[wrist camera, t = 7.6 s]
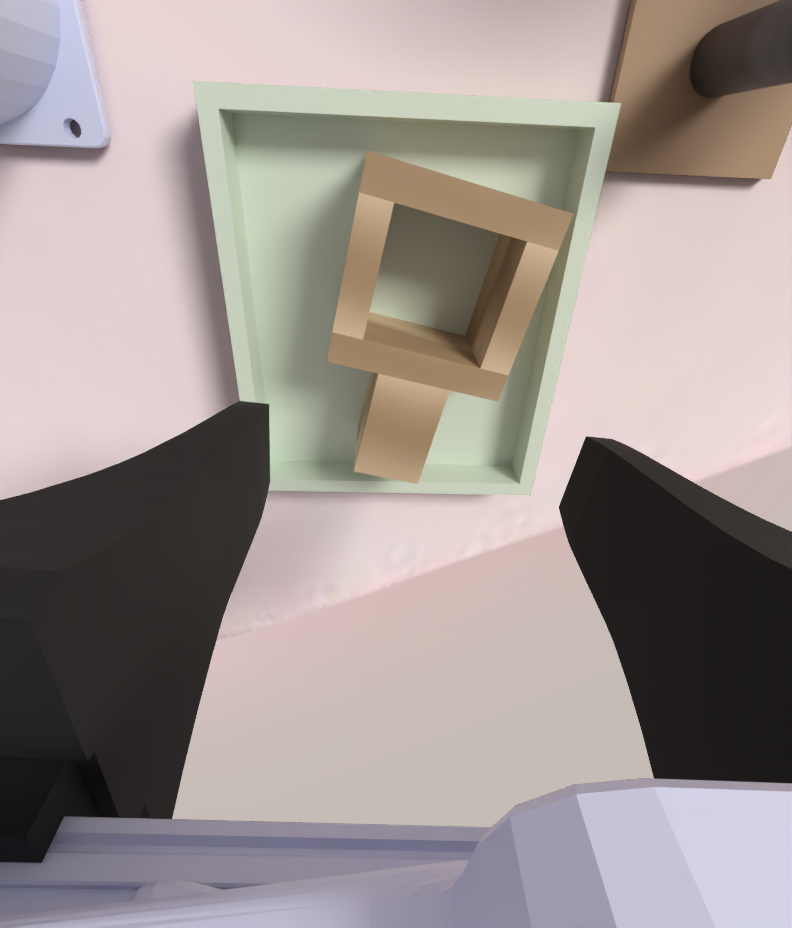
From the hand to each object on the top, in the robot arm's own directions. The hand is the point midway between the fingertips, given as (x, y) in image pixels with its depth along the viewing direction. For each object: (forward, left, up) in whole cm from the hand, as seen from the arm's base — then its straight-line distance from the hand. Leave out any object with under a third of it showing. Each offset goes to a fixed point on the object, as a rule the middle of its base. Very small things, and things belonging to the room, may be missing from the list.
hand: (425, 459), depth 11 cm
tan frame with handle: (0, 0, -9) cm, 9 cm away
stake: (+9, +9, -10) cm, 16 cm away
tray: (0, 0, -10) cm, 10 cm away
